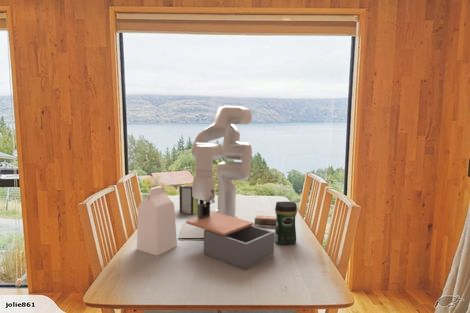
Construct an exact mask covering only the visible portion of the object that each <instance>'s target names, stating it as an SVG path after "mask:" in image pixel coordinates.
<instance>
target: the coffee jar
mask: <svg viewBox="0 0 470 313" xmlns="http://www.w3.org/2000/svg"><path fill="white" fill-rule="evenodd" d="M274 212H275V214H276V215H275V217H276V229H274V230H275V231H274V232H275V235H274V243H276V244H278V245H294V244H296V243H297V230H296V217H297V214H298V206H297V203H296V202H295V201H276V203H275V206H274Z"/></svg>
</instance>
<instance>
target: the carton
mask: <svg viewBox="0 0 470 313" xmlns="http://www.w3.org/2000/svg"><path fill="white" fill-rule="evenodd" d="M274 237H275V231H272V230H269V229H267V228H260V227H255V226H254V225H252V226H249V227H246V228H244V229H241V230H238V231H236V232H233V233H231V234H228V235H225V236H223V235H220V234H217V233H214V232H211V231H208V230H205V229H203V254H204V255H205V256H208V257H210V258H213V259H216V260H217V261H218V260H219V261H221V262H224V263H226V264H229V265H231V266H233V267H237V268H239V269H241V270H244V271H248V270H250V269H251V268H253V267H255V266H257V265H259V264H260V263H262V262H265V261H266V260H268V259H271V258H272V257H274V255H275V240H274Z"/></svg>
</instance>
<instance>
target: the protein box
mask: <svg viewBox="0 0 470 313" xmlns="http://www.w3.org/2000/svg"><path fill="white" fill-rule="evenodd" d="M192 187H193V181H192V182H189V183H185V184H181V185H179V212H180V213H184V214H188V215H192V216H194V215H198V202H197V201H196V200H195V199H194V198H193V196H192Z"/></svg>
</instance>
